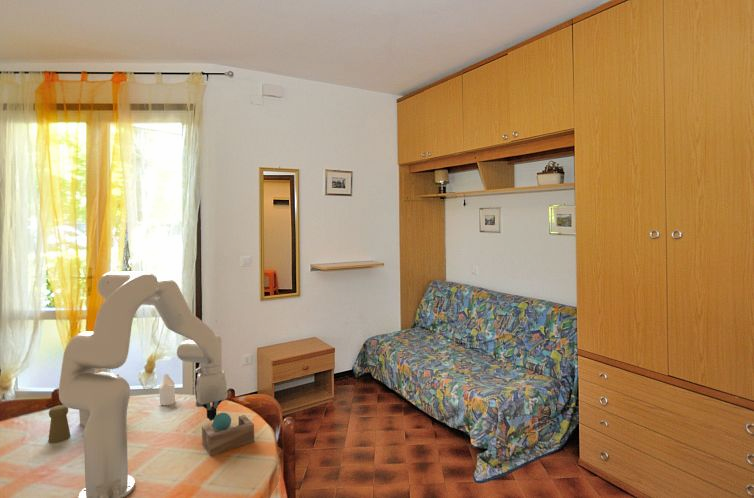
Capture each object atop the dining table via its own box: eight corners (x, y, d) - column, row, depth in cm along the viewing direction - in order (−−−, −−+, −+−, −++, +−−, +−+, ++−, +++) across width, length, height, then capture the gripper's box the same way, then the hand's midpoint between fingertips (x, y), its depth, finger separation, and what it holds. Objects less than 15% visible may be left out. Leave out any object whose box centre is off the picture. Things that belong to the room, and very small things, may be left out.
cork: (44, 440, 138) (43, 408, 138) (64, 432, 143) (63, 401, 143) (53, 444, 135) (52, 411, 135) (74, 436, 141) (73, 405, 140)
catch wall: (254, 442, 137) (253, 424, 136) (210, 456, 128) (210, 437, 128) (244, 431, 144) (244, 414, 143) (202, 444, 135) (201, 426, 135)
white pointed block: (171, 376, 166) (156, 376, 165) (172, 405, 166) (157, 406, 165) (176, 371, 172) (161, 372, 171) (176, 399, 172) (162, 400, 171)
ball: (228, 407, 148) (225, 421, 150) (212, 411, 144) (208, 425, 145) (235, 418, 144) (231, 432, 146) (219, 422, 140) (215, 437, 141)
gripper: (191, 376, 142) (192, 428, 143) (234, 367, 151) (235, 417, 152) (186, 370, 148) (187, 421, 149) (228, 362, 157) (229, 410, 158)
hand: (211, 418), depth 150 cm, fingers closed
